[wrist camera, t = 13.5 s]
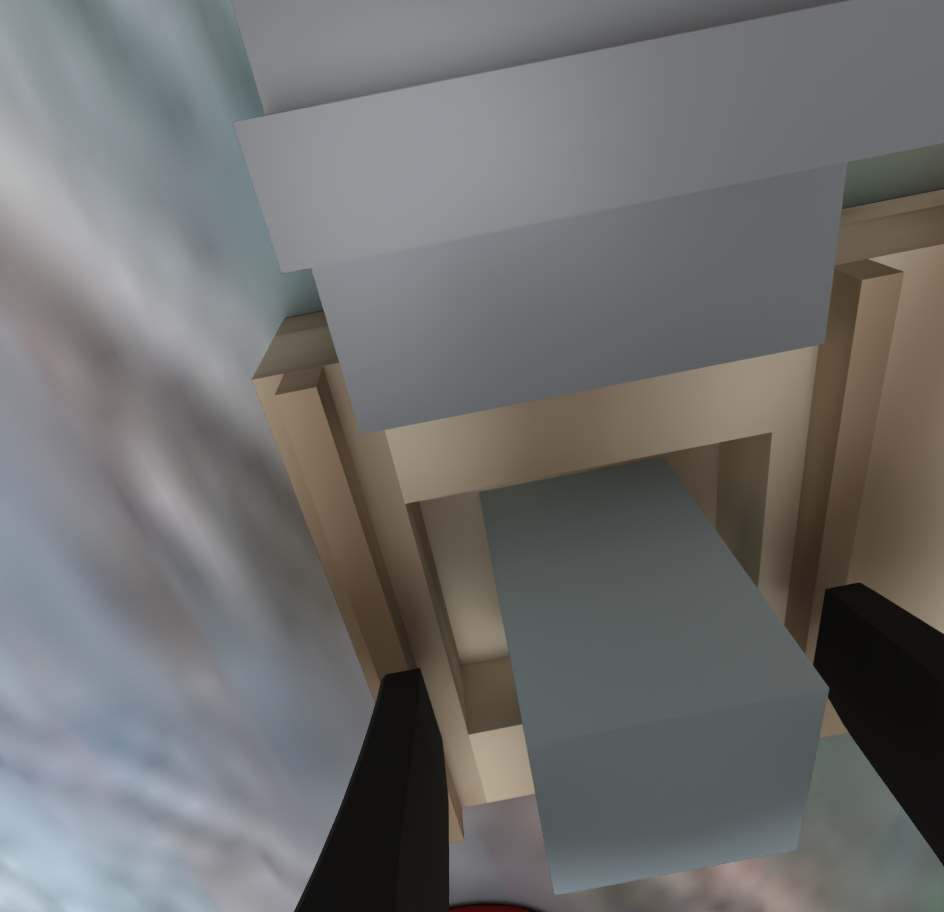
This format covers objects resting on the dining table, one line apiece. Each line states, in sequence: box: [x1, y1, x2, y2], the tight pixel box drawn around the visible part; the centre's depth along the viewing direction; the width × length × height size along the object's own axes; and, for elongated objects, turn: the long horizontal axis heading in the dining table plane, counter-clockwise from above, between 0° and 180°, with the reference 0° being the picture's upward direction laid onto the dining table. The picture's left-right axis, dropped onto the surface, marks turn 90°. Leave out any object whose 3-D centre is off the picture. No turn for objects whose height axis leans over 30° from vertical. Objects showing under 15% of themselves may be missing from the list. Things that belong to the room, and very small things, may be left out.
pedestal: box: [252, 189, 944, 844], centre depth 13 cm, size 14×12×4 cm
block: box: [479, 457, 829, 895], centre depth 12 cm, size 4×4×6 cm
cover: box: [231, 0, 944, 435], centre depth 7 cm, size 7×7×2 cm
